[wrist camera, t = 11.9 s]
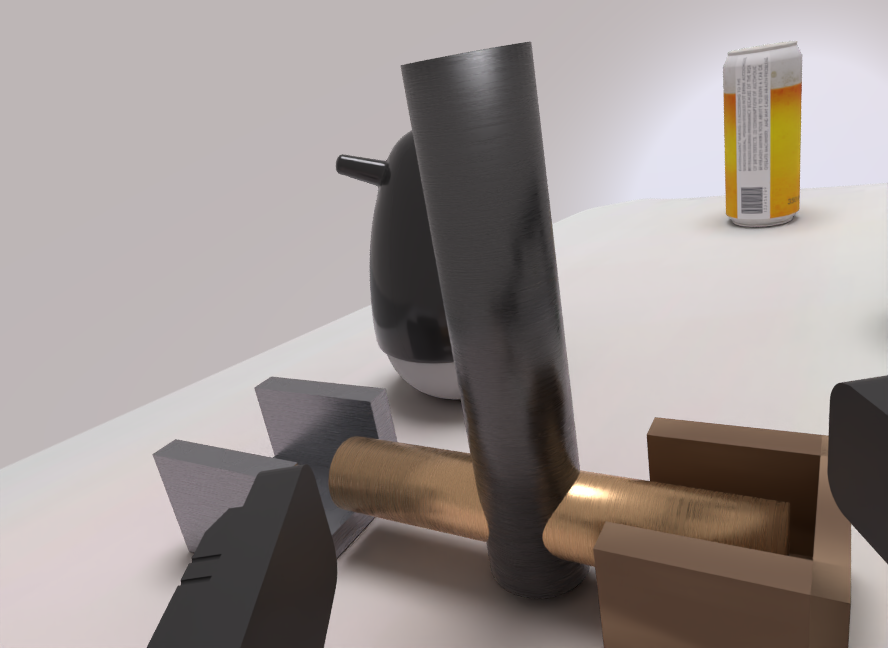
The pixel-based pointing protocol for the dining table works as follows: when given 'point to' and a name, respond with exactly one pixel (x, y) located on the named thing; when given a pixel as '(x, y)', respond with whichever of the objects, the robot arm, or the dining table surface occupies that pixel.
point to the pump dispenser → (405, 272)
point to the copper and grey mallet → (513, 358)
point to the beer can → (762, 133)
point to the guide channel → (277, 453)
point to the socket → (730, 550)
